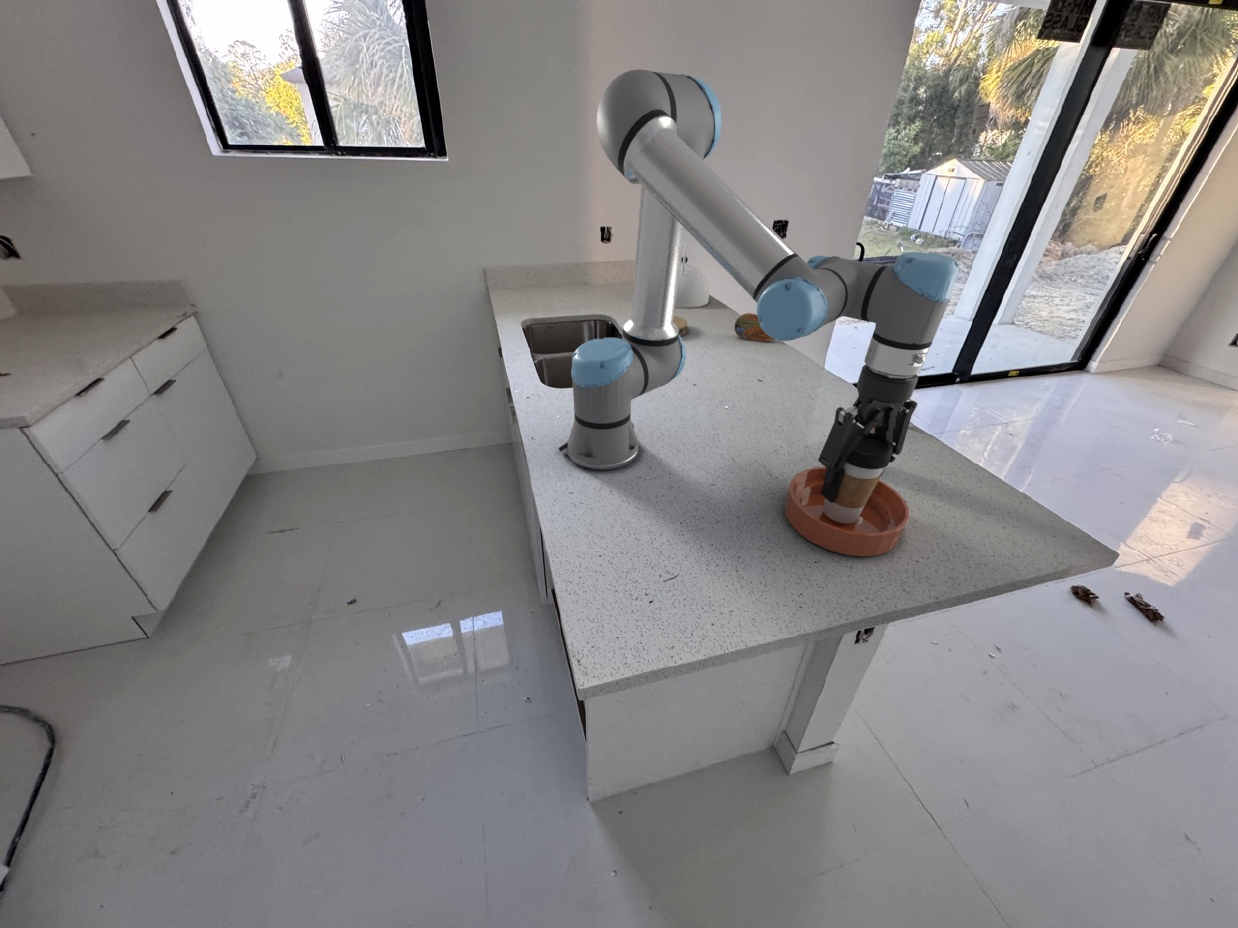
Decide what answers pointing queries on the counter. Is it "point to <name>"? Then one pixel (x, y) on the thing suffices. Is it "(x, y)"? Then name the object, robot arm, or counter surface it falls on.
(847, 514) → the coffee cup
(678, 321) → the round brown disc
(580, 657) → the counter surface
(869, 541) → the bowl
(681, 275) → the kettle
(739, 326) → the tin
